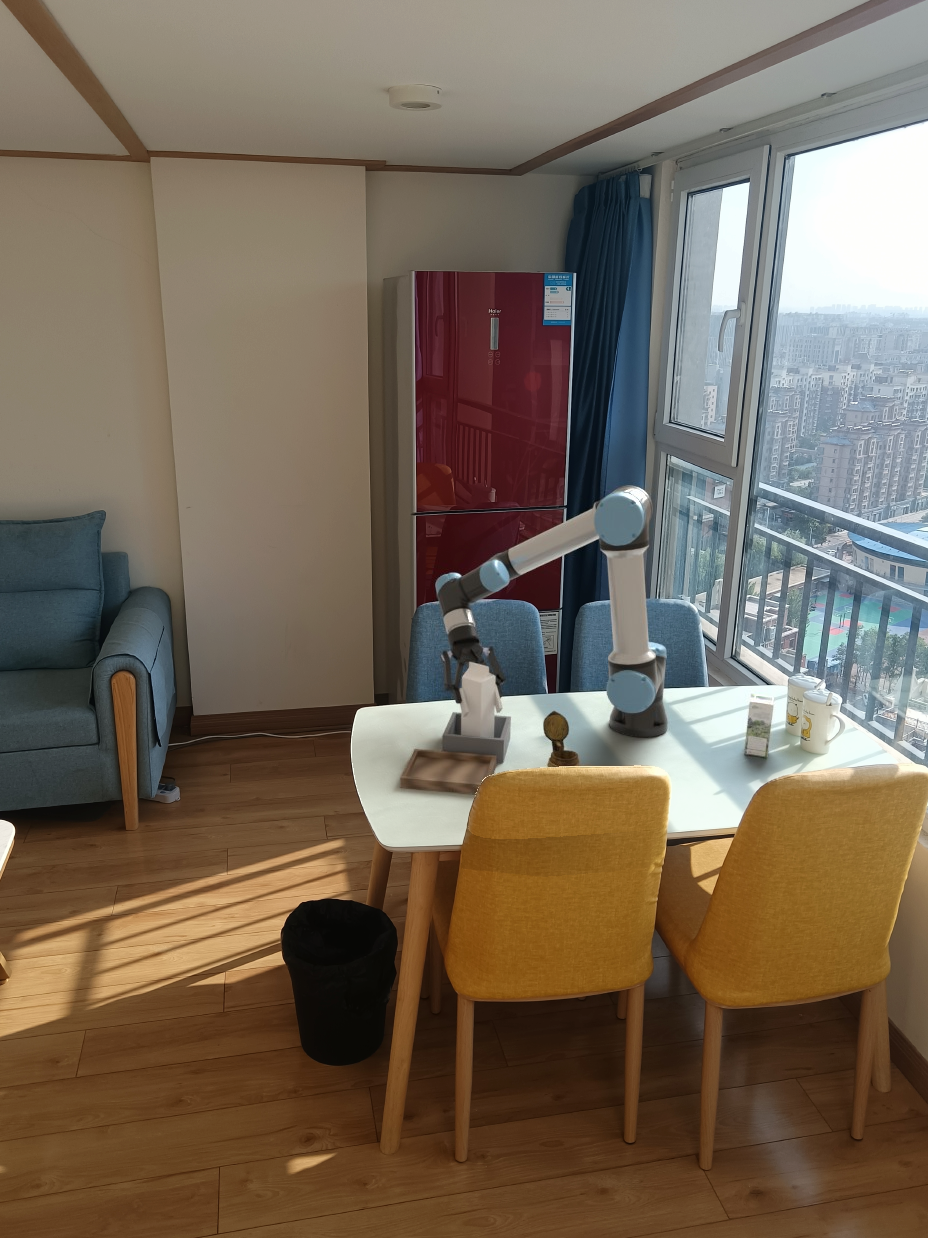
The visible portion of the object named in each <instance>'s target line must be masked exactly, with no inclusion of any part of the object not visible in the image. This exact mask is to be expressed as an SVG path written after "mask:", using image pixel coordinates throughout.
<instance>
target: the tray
mask: <svg viewBox="0 0 928 1238" xmlns="http://www.w3.org/2000/svg"><path fill="white" fill-rule="evenodd" d="M496 760H497V756H495V755H483V754H470V753H458V752H446V751H442V750H433V749H420V748H414V749H413V752H412V753H411V756H410V757H409V760H408V762H407V764H406V765H405V768H404V770H403V771H402V774H401V775H400V780H399V783H400V788H401V789H411V790H422V791H423V790H424V791H435V792H442V793H443V792H444V793H456V794H468V793H469V794H468V795H476V794H475V793H476V792H477V789H478V787H479V786H480V784H481V782H482V780H483V779H484V778H485V777H487V776H489V775H492V774H494V775H495V771H496V767H497V763H496ZM470 793H472V794H470Z"/></svg>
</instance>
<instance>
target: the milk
mask: <svg viewBox="0 0 928 1238" xmlns="http://www.w3.org/2000/svg"><path fill="white" fill-rule="evenodd" d="M489 668H490V667H489V665H488V666H484V665H480V664H476V663H473V662H469V665H468V669H467V670H466V671H465V672H464V674H462V675H461V688H463V691H464V695H465V699H466V703H467V707H468V711H469V713H468V714H467V716H466V717H463V715H462V711H460V713H461V735H466V736H479V737H492V738H494V715H496V713H495V710H496V708H495V675H493V674H491V673H489Z"/></svg>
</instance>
